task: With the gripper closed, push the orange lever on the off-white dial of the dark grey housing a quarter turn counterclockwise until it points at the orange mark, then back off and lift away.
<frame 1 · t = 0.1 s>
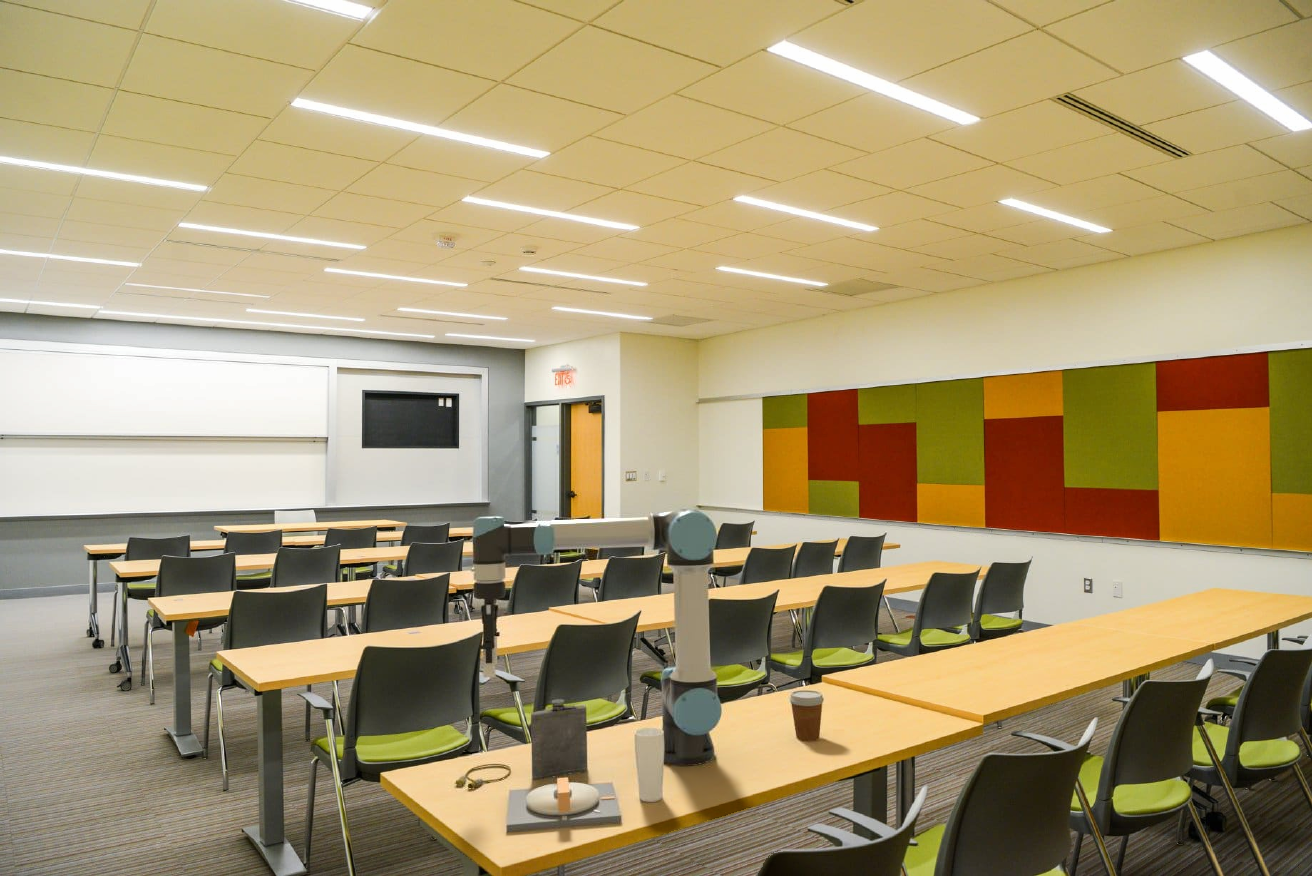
hand: (490, 670, 201), 28 cm above the table, tool pointing down, fingers open, 13 cm apart
disposable coffee cup: (807, 738, 233), on the table
flask: (559, 774, 209), on the table
drinking glass: (650, 799, 191), on the table
dial: (562, 790, 186), point 4 cm above the table, hinge at 0.0°
dial housing: (563, 809, 186), on the table
extension cord: (482, 779, 208), on the table
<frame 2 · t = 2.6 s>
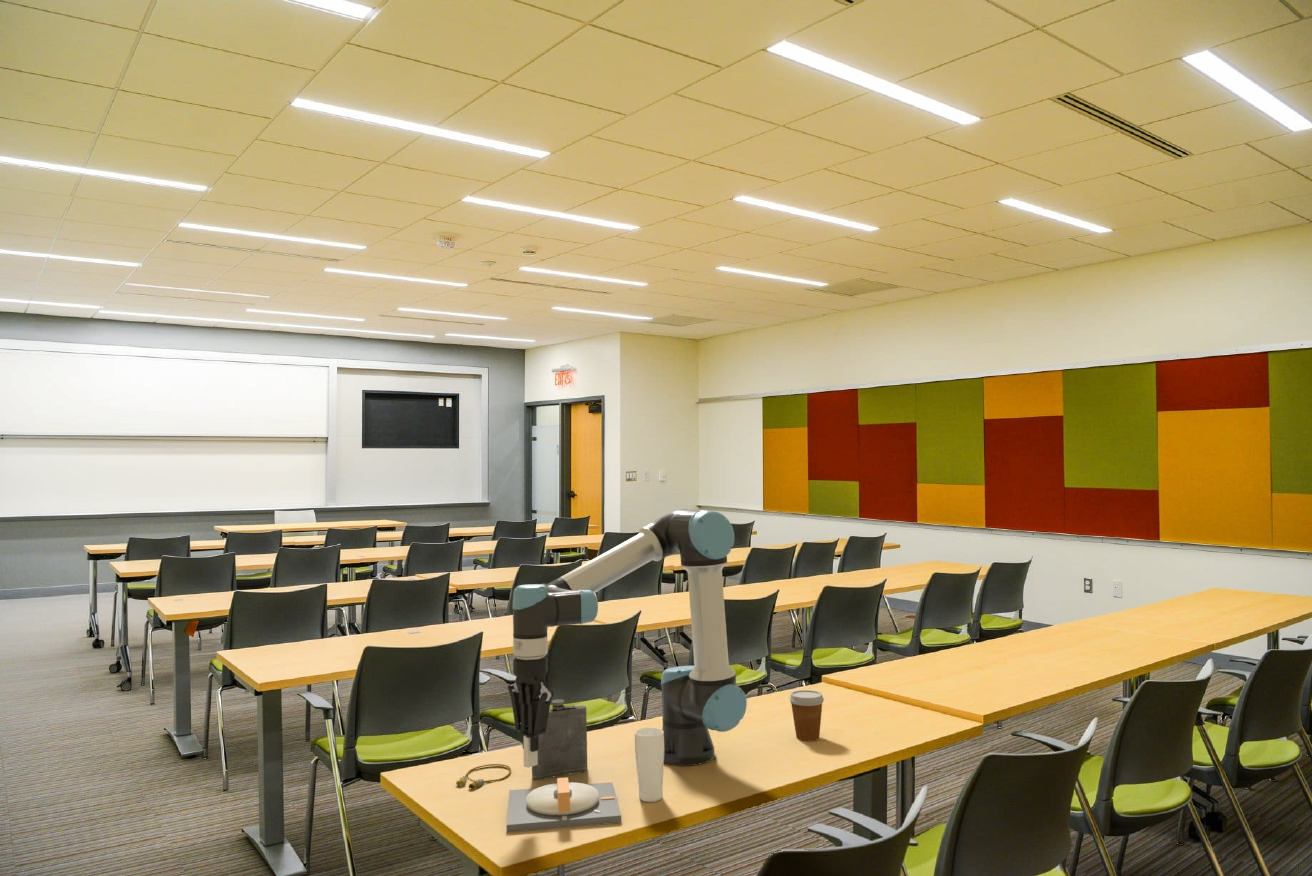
hand: (530, 765, 183), 11 cm above the table, tool pointing down, fingers closed
nothing on the table moved.
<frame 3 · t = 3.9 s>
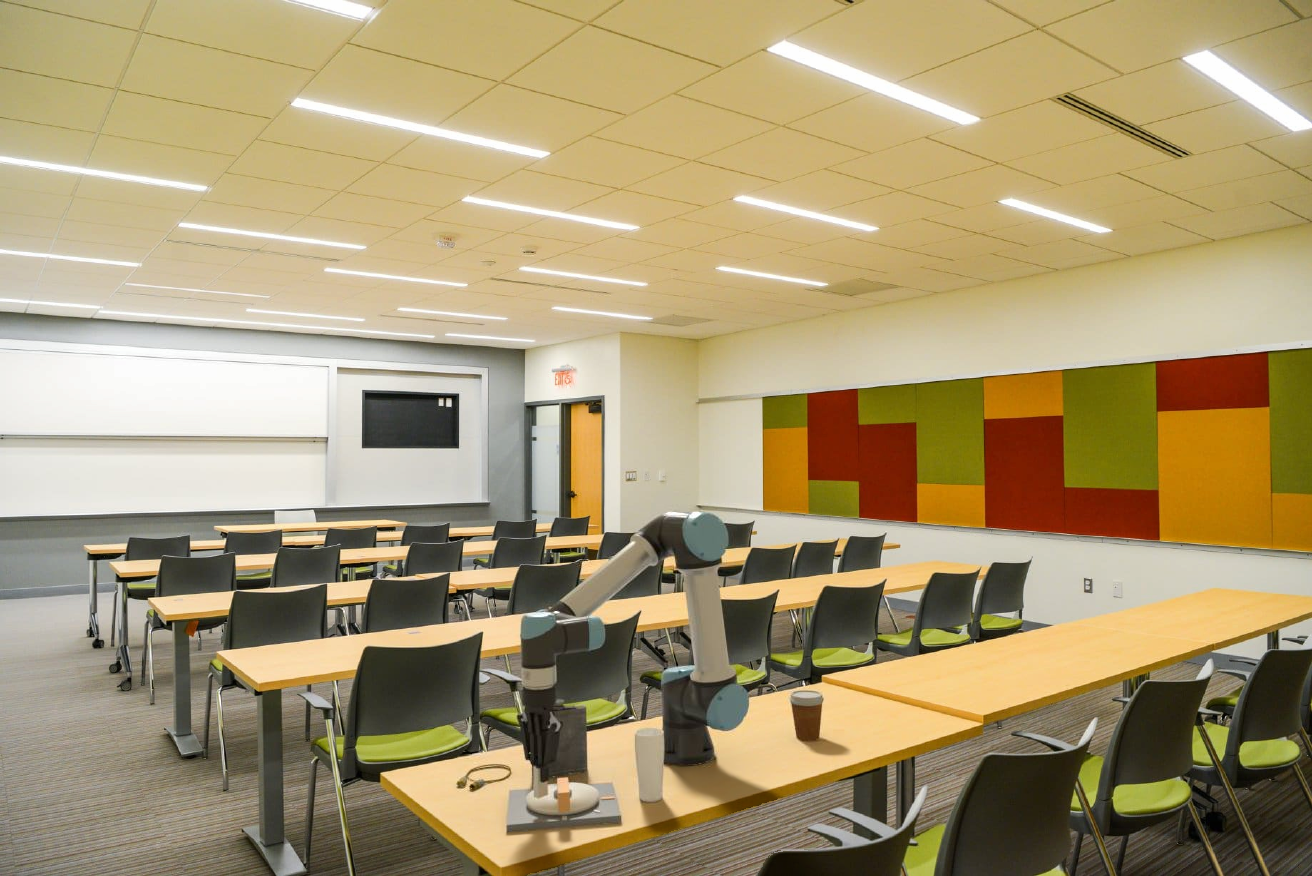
hand: (540, 795, 182), 5 cm above the table, tool pointing down, fingers closed
nothing on the table moved.
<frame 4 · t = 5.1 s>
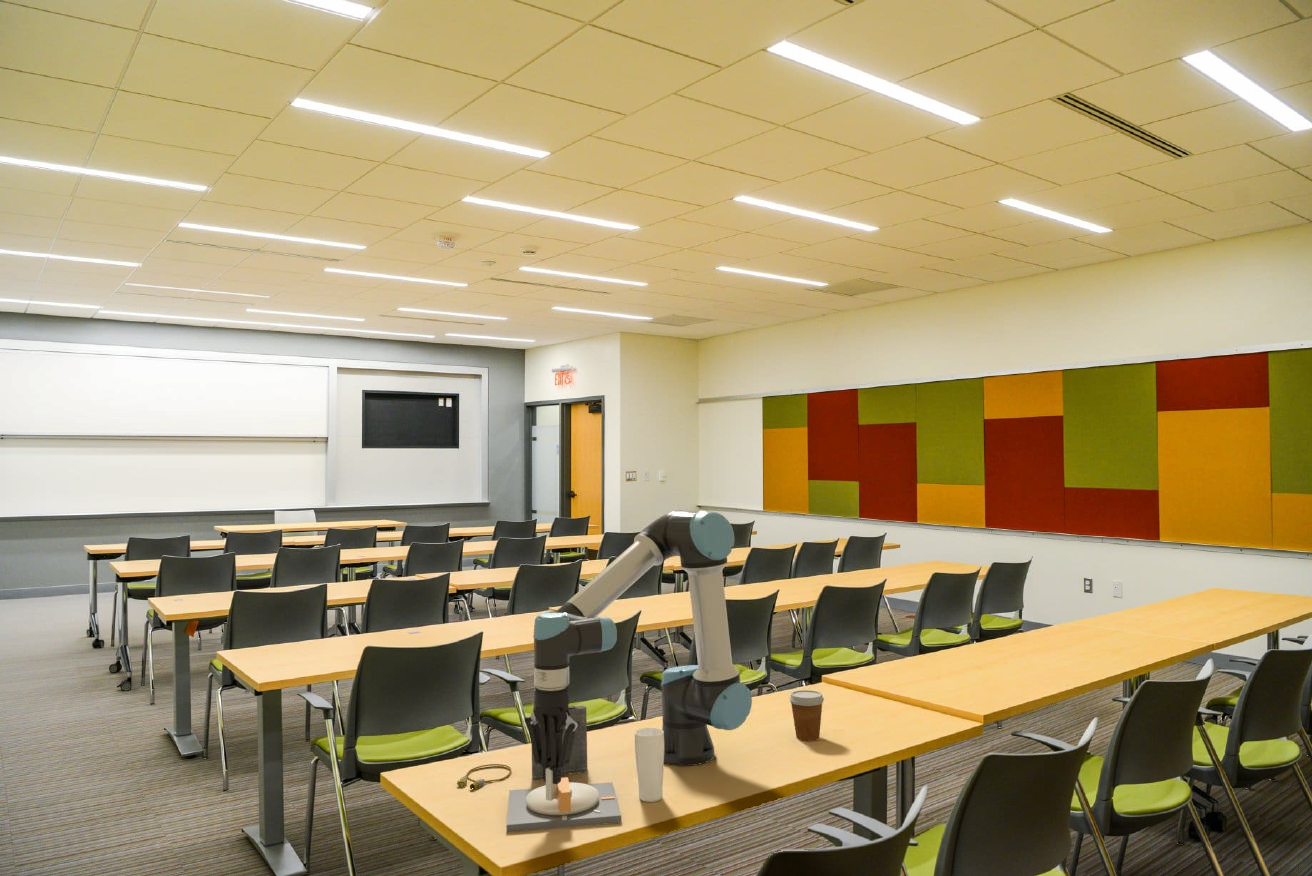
hand: (552, 798, 180), 5 cm above the table, tool pointing down, fingers closed
dial: (562, 790, 186), point 4 cm above the table, hinge at 1.0°, touching gripper
everything else where it was.
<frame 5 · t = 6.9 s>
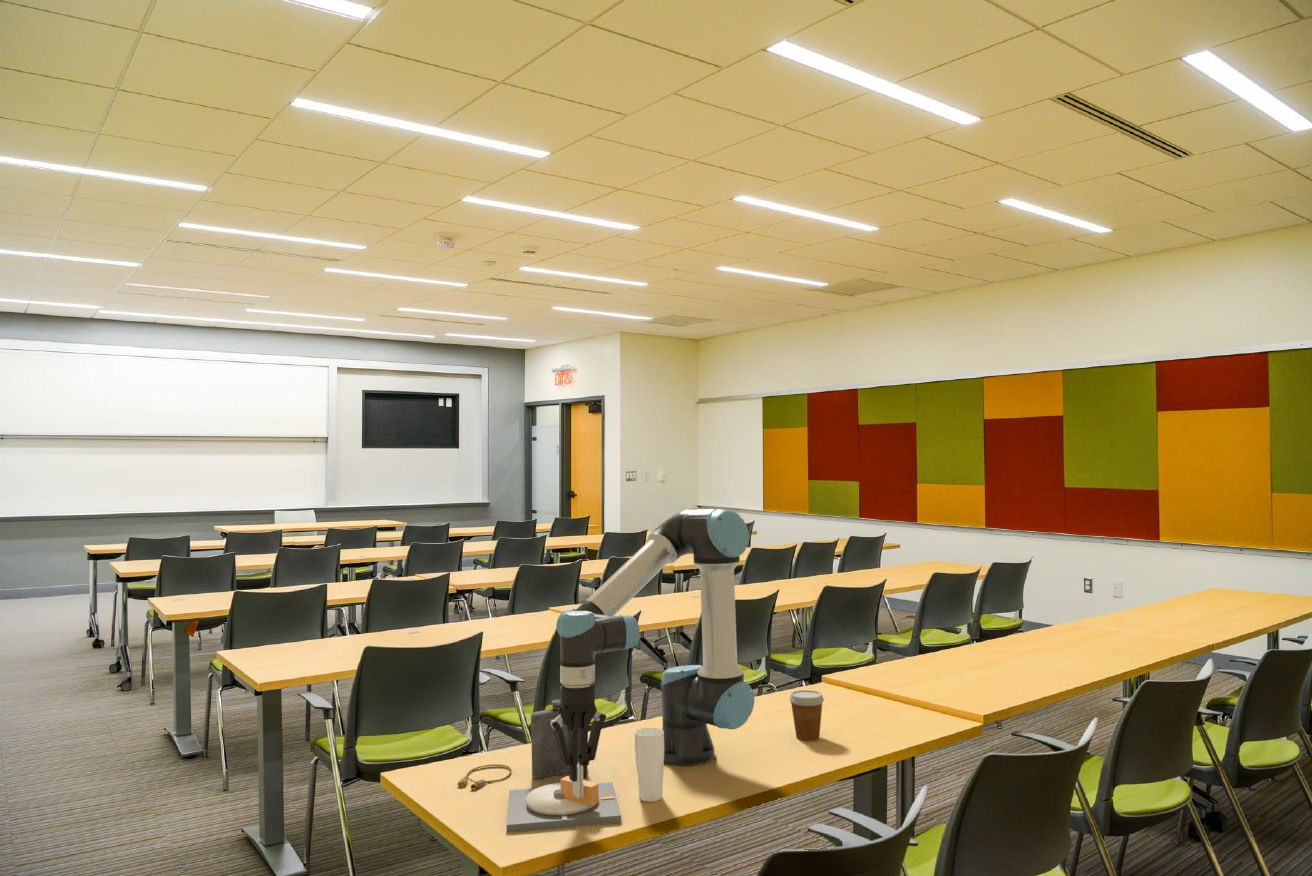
hand: (578, 795, 181), 5 cm above the table, tool pointing down, fingers closed
dial: (565, 789, 186), point 4 cm above the table, hinge at 44.8°, touching gripper
everything else where it was.
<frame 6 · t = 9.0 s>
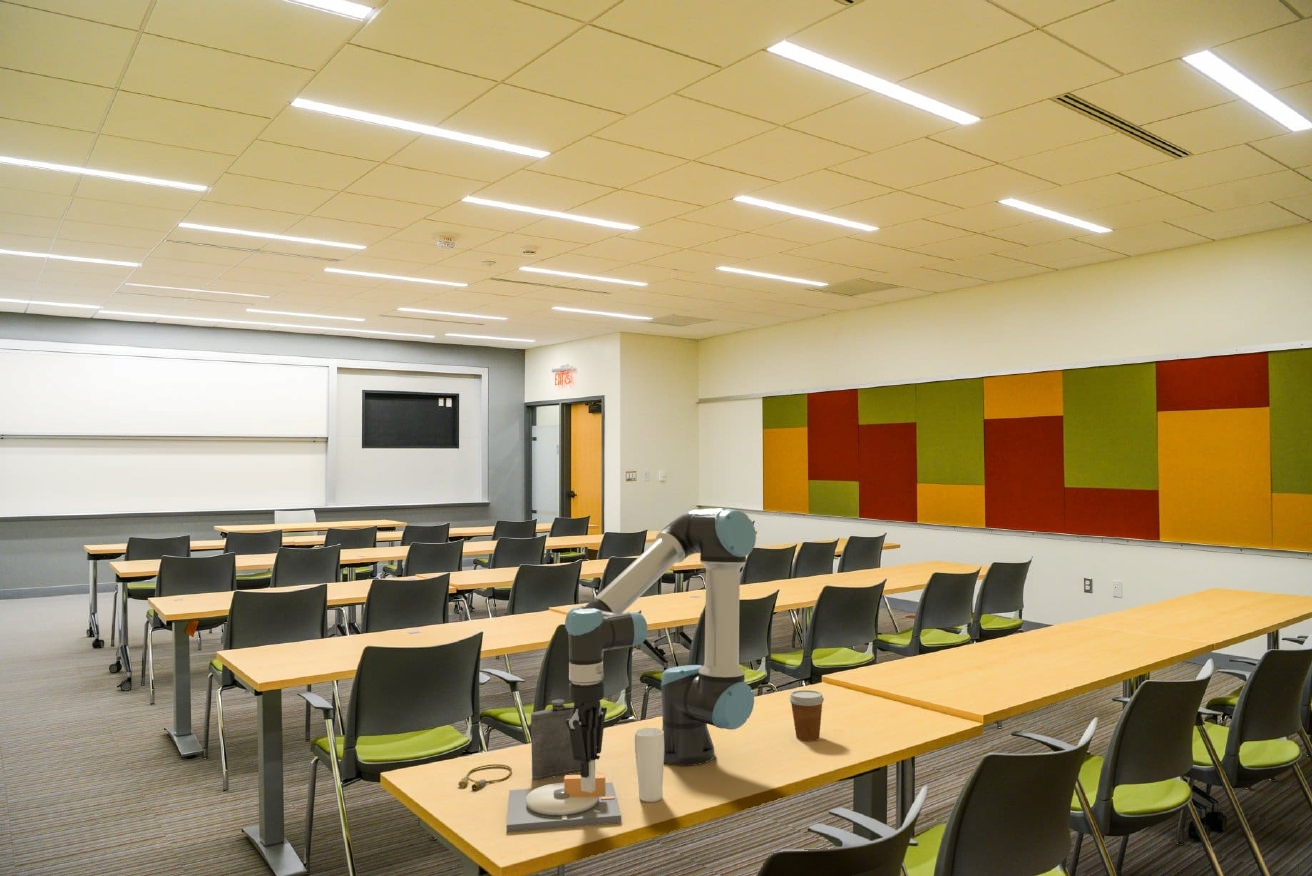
hand: (588, 790, 183), 5 cm above the table, tool pointing down, fingers closed
dial: (566, 788, 187), point 4 cm above the table, hinge at 81.5°
everything else where it was.
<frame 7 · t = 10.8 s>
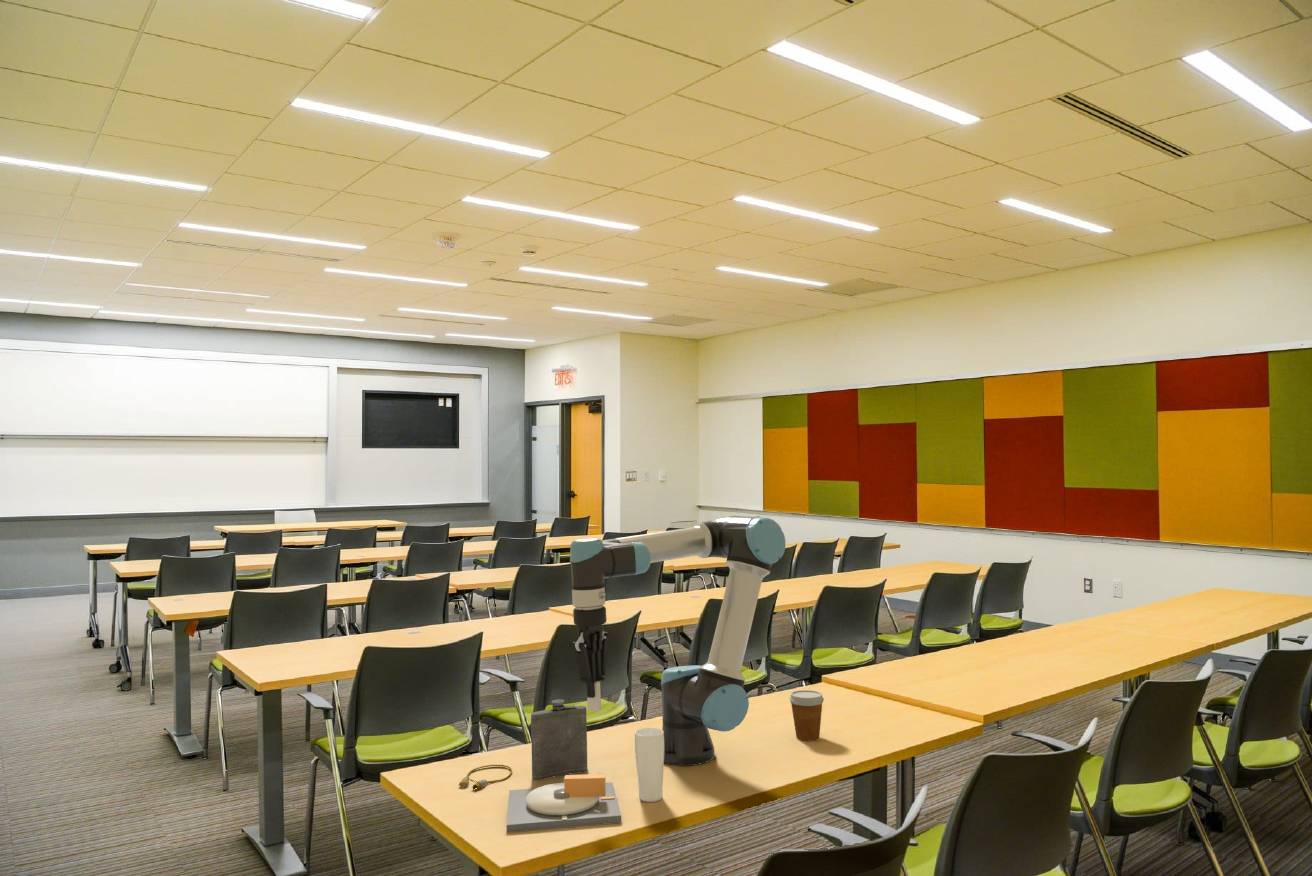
hand: (594, 710, 192), 20 cm above the table, tool pointing down, fingers closed
nothing on the table moved.
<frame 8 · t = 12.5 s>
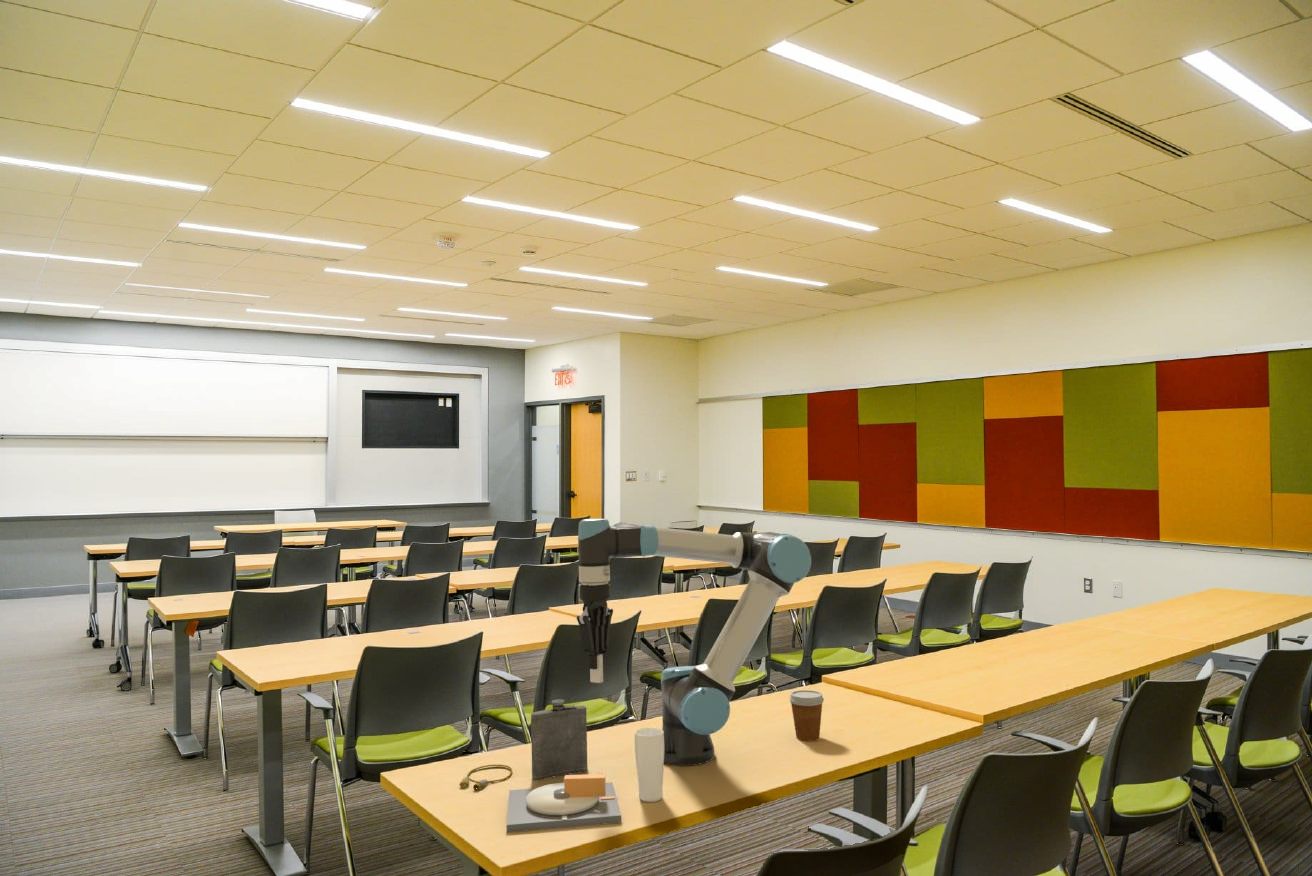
hand: (596, 681, 202), 24 cm above the table, tool pointing down, fingers closed
nothing on the table moved.
at the end: dial at +82° (first picture: +0°); drinking glass moved 0.2 cm from its start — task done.
